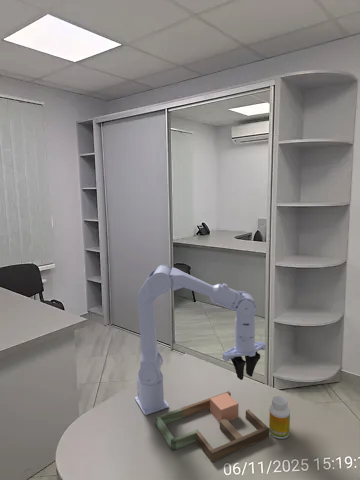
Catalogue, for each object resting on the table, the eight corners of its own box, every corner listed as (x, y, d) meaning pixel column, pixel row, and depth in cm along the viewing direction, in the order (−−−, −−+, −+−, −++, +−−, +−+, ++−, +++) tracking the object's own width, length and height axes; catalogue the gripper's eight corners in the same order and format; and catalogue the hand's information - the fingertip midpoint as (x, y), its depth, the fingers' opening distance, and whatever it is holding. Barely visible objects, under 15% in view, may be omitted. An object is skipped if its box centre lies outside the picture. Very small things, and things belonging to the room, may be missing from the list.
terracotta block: (210, 412, 105) (209, 398, 104) (226, 405, 108) (226, 392, 107) (221, 424, 100) (221, 410, 99) (238, 417, 102) (238, 403, 102)
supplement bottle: (290, 440, 92) (291, 407, 91) (269, 438, 94) (270, 405, 92) (288, 426, 98) (289, 395, 96) (268, 424, 99) (269, 393, 97)
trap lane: (156, 424, 100) (155, 416, 100) (228, 398, 111) (228, 391, 110) (187, 473, 83) (186, 464, 83) (269, 436, 94) (269, 428, 94)
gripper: (232, 345, 96) (232, 390, 98) (273, 334, 102) (272, 376, 105) (218, 335, 102) (218, 378, 105) (257, 325, 109) (257, 365, 111)
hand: (244, 376), depth 105 cm, fingers open, 3 cm apart
